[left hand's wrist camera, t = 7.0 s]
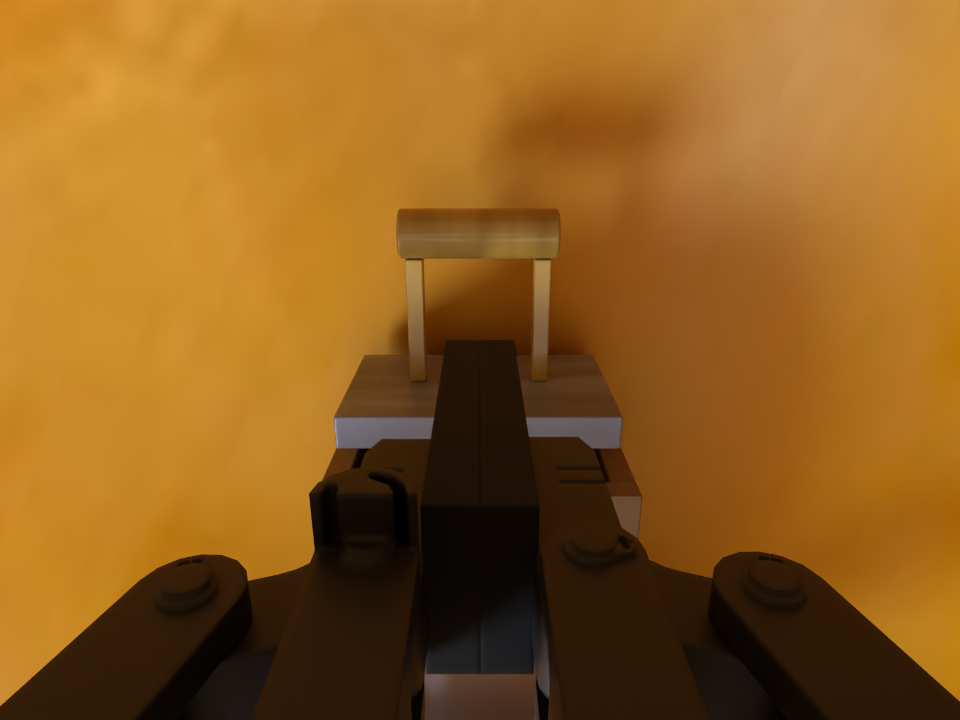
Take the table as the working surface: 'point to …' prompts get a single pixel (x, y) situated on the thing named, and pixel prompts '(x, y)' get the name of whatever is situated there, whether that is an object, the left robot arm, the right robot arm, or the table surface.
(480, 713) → the cabinet
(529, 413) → the drawer
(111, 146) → the table surface
